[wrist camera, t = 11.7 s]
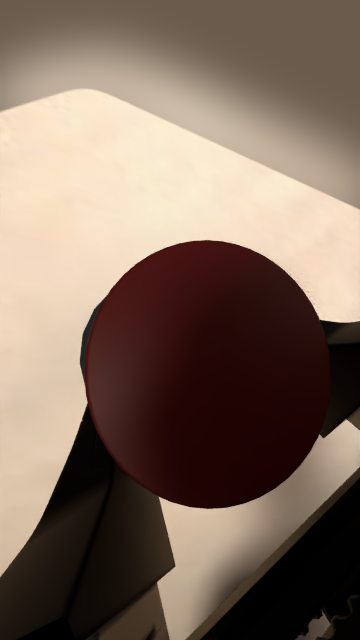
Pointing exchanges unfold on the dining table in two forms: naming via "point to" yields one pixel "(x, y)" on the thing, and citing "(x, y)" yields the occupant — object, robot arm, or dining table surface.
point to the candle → (207, 374)
